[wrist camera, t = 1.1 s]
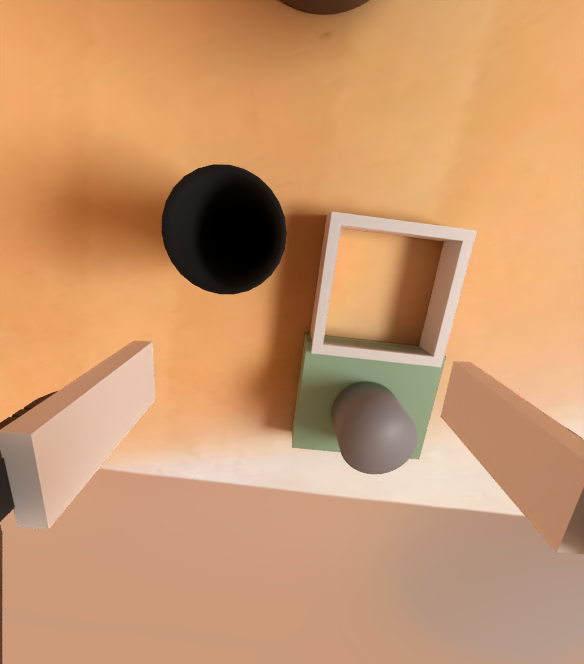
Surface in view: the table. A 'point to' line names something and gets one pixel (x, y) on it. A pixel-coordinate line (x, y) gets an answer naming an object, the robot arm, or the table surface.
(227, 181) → the cup
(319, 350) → the multicoloured boxy piece
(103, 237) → the table surface
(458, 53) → the table surface
